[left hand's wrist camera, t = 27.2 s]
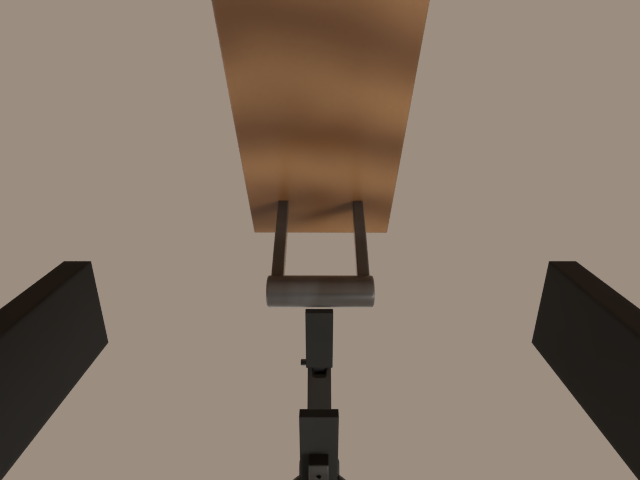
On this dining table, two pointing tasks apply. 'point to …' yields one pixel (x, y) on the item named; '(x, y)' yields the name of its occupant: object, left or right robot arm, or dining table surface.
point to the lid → (320, 123)
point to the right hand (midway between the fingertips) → (319, 352)
